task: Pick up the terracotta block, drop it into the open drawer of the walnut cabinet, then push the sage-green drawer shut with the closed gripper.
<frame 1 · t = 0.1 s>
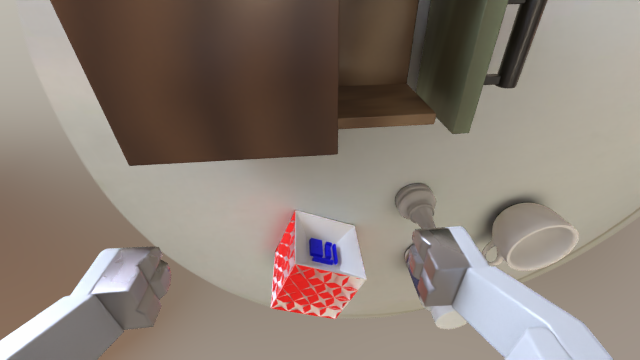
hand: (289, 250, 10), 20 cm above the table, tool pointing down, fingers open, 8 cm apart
red patterned box: (314, 238, 38), on the table
chess piece: (412, 196, 35), on the table
pill bottle: (422, 251, 41), on the table
teacup: (504, 220, 38), on the table
cabinet: (241, 36, 24), on the table
drawer: (403, 42, 20), point 5 cm above the table, slide at 8.0 cm
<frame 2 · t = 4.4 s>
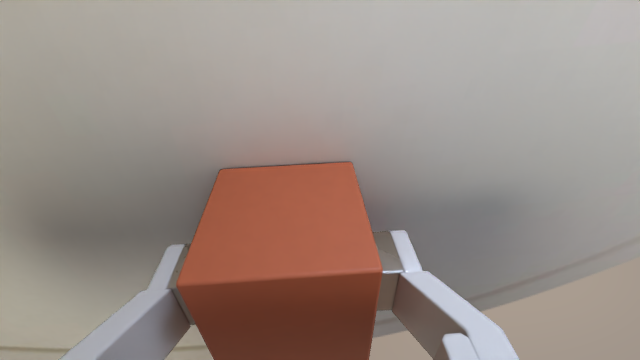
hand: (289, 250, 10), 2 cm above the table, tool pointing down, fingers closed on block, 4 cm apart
block: (291, 214, 11), on the table, touching gripper
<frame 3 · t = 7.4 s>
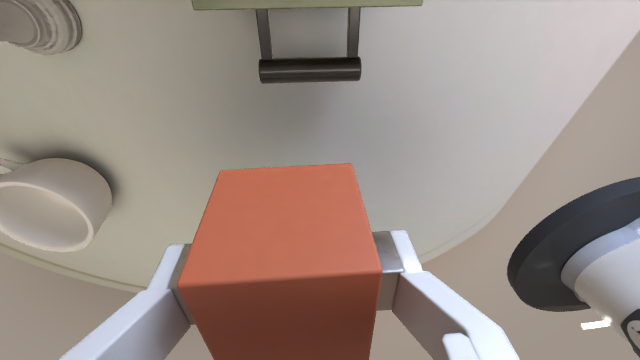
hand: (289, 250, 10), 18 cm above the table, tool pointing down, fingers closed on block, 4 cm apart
chess piece: (48, 16, 20), on the table
block: (291, 214, 11), point 16 cm above the table, touching gripper
teacup: (69, 173, 28), on the table
when the fingers open (9 cm above the table, at t = 10.7 s): block drops 5 cm, resting on drawer.
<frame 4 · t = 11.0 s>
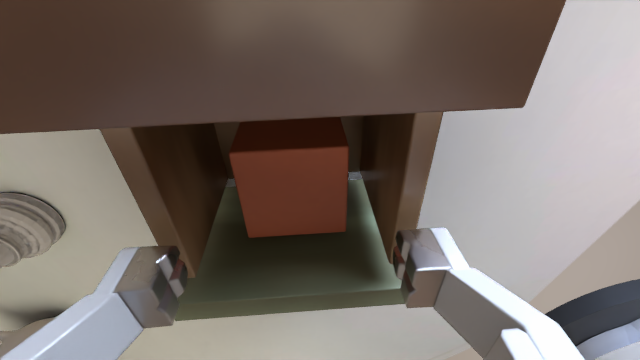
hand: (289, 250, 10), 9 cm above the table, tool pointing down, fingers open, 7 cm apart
chess piece: (30, 215, 20), on the table
block: (294, 144, 15), point 2 cm above the table, touching drawer
teacup: (58, 323, 27), on the table
drawer: (291, 180, 13), point 5 cm above the table, slide at 8.0 cm, touching block
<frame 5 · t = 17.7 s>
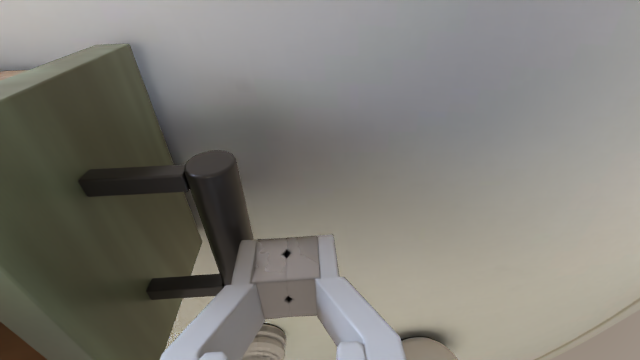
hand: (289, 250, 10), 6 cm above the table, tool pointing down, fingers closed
chess piece: (260, 334, 25), on the table
teacup: (402, 350, 28), on the table
drawer: (16, 230, 10), point 5 cm above the table, slide at 7.6 cm, touching block, gripper
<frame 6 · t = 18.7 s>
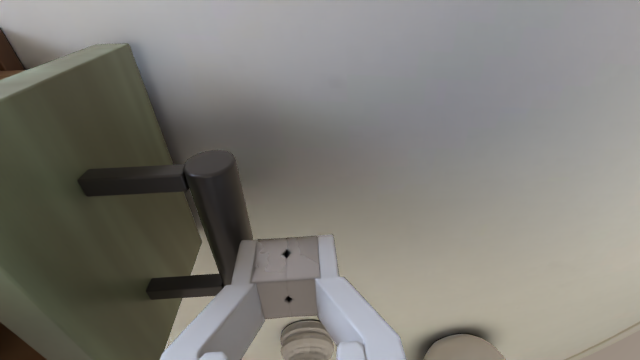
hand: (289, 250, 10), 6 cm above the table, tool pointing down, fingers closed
chess piece: (307, 330, 25), on the table
teacup: (442, 347, 29), on the table
drawer: (15, 230, 10), point 5 cm above the table, slide at 3.6 cm, touching block, gripper
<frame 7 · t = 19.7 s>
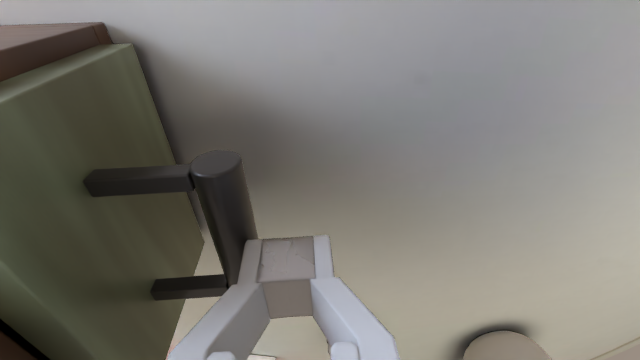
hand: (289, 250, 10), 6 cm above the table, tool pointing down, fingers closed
teacup: (480, 344, 29), on the table
cabinet: (12, 163, 14), on the table
drawer: (19, 231, 10), point 5 cm above the table, slide at 0.0 cm, touching block, cabinet, gripper
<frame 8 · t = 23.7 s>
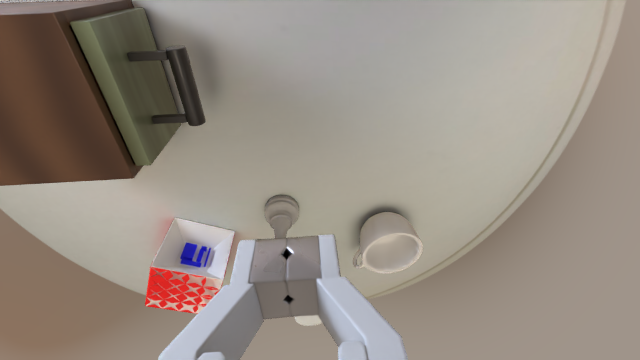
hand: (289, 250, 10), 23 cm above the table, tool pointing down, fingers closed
red patterned box: (201, 242, 42), on the table
chess piece: (282, 206, 39), on the table
teacup: (376, 227, 42), on the table
cabinet: (81, 73, 28), on the table
drawer: (95, 88, 24), point 5 cm above the table, slide at 0.0 cm, touching block, cabinet
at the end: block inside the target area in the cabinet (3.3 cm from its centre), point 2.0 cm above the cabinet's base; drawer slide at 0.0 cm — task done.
